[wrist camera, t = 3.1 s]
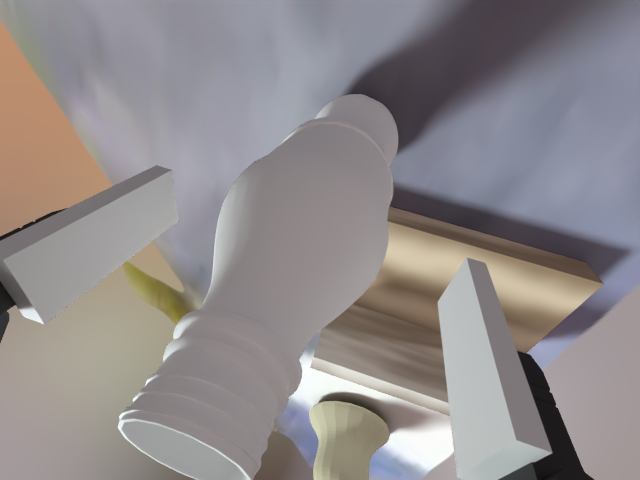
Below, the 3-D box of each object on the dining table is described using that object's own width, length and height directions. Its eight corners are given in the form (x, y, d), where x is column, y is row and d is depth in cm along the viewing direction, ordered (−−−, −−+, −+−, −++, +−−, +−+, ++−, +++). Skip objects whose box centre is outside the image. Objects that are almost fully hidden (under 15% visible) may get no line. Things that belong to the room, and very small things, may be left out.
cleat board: (361, 198, 29) (341, 266, 20) (586, 262, 27) (671, 368, 18) (333, 291, 37) (310, 367, 29) (503, 345, 35) (534, 445, 27)
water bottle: (415, 111, 24) (455, 499, 4) (375, 184, 28) (294, 542, 8) (336, 74, 23) (-66, 264, 4) (308, 153, 28) (59, 437, 8)
